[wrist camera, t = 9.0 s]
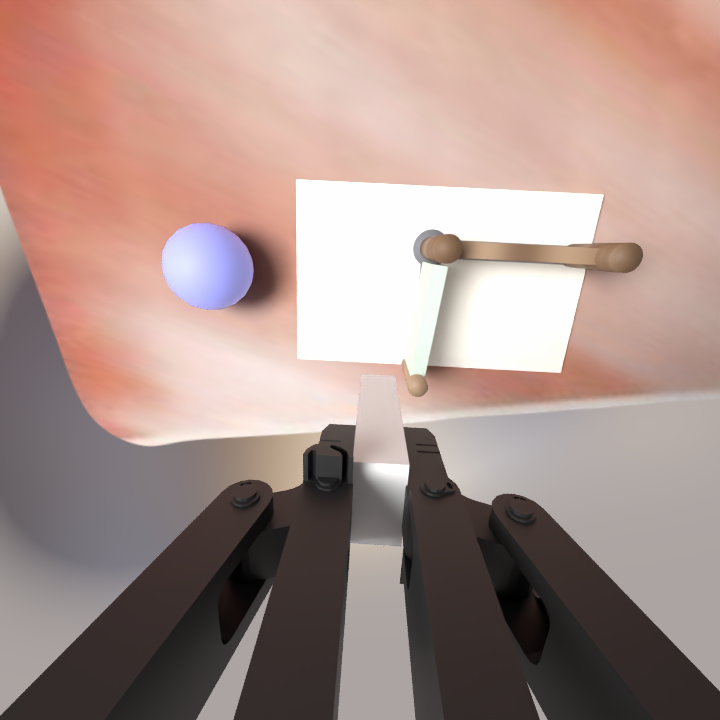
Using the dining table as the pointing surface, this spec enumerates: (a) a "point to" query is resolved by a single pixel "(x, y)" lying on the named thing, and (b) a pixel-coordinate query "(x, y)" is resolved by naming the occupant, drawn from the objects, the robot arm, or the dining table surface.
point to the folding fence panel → (423, 326)
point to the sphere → (207, 266)
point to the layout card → (464, 276)
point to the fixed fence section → (536, 253)
